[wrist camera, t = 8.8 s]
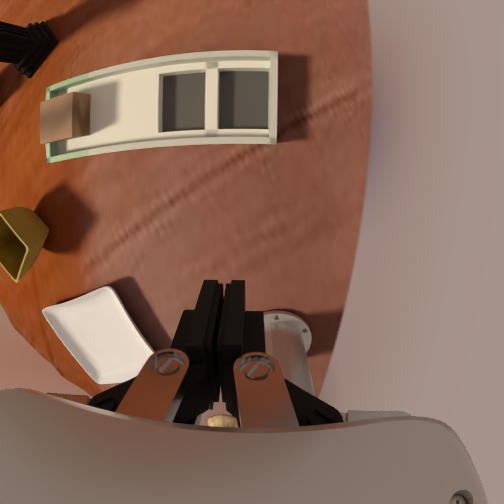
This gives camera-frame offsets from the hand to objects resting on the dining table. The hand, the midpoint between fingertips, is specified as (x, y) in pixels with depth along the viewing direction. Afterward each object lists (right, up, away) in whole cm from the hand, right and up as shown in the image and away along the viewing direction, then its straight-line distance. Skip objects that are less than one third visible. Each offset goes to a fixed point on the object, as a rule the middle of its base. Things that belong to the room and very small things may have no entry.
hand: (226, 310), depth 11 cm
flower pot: (-37, +7, +27) cm, 46 cm away
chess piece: (-35, +37, +13) cm, 53 cm away
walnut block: (-24, +21, +18) cm, 37 cm away
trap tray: (-12, +22, +20) cm, 32 cm away
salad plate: (-27, -14, +36) cm, 47 cm away
